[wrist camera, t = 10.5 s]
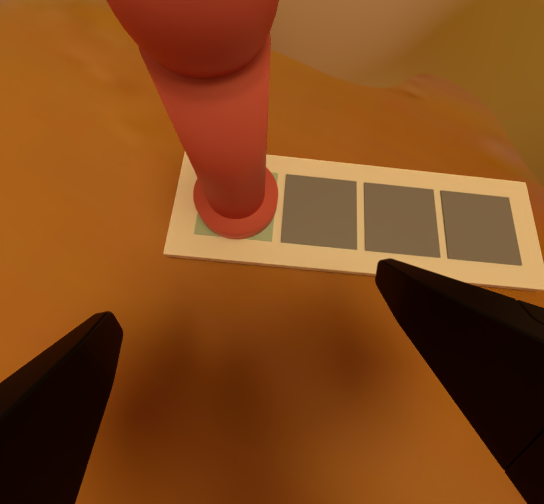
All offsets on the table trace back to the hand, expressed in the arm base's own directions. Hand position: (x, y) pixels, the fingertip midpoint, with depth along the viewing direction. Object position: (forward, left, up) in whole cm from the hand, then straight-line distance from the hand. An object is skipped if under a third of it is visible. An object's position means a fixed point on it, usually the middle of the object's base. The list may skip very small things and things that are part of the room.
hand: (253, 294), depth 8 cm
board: (+10, -1, -8) cm, 13 cm away
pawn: (+4, +6, -8) cm, 11 cm away
